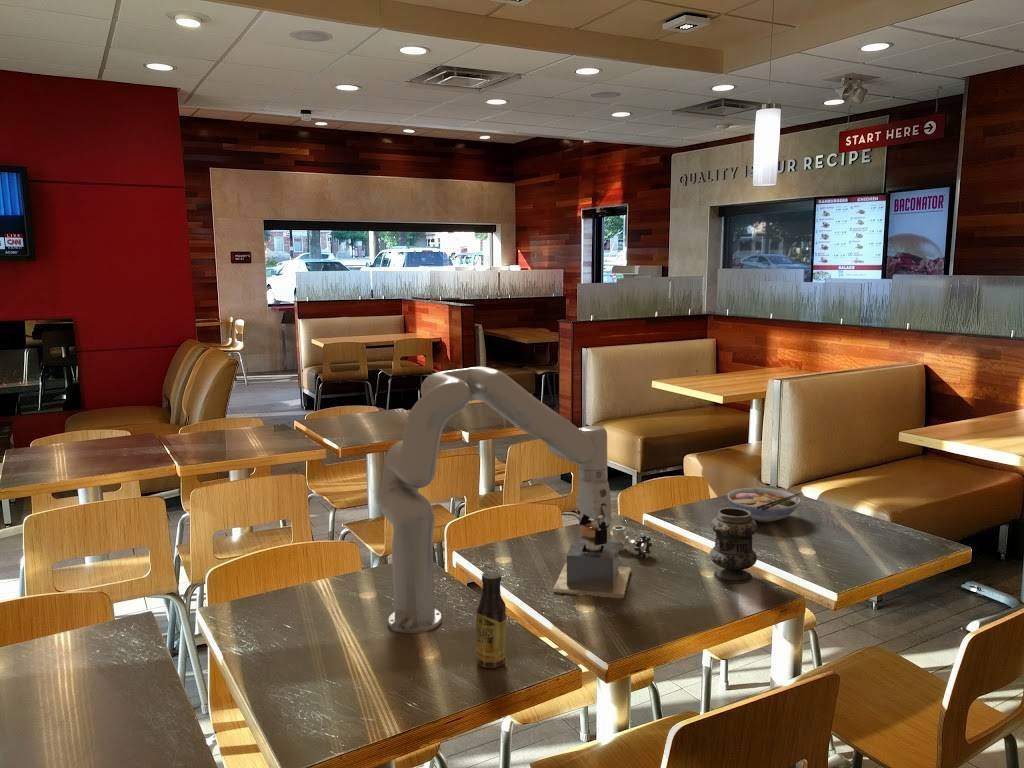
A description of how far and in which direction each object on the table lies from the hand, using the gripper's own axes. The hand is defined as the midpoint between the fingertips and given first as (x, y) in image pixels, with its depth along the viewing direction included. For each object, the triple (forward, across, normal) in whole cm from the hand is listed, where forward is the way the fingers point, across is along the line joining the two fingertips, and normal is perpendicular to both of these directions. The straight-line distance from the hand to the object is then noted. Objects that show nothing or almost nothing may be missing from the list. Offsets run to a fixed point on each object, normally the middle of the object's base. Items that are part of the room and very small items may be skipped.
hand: (593, 539), depth 206 cm
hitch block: (+12, 0, 0) cm, 12 cm away
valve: (+12, +14, -20) cm, 27 cm away
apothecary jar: (+12, -15, -34) cm, 39 cm away
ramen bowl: (+12, +17, -76) cm, 79 cm away
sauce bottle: (+12, -26, +42) cm, 51 cm away
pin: (+6, 0, 0) cm, 6 cm away
